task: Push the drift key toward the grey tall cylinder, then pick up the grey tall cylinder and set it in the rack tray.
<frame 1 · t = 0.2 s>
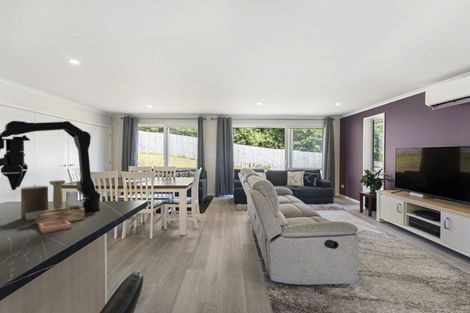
hand: (15, 188, 106), 14 cm above the countertop, fingers open, 9 cm apart
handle: (57, 210, 128), on the countertop
rack tray: (55, 228, 99), on the countertop
pillar candle: (35, 217, 115), on the countertop
socket block: (60, 220, 109), on the countertop
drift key: (36, 215, 103), point 4 cm above the countertop, slide at 0.0 cm
grey tall cylinder: (71, 213, 112), point 2 cm above the countertop, touching socket block
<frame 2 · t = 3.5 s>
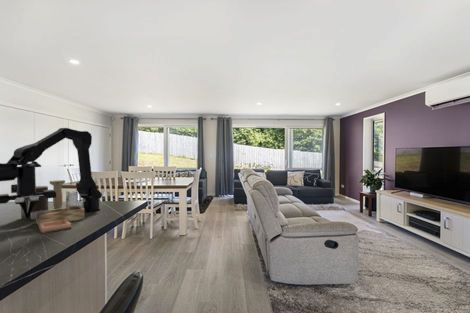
hand: (27, 217, 101), 3 cm above the countertop, fingers closed
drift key: (40, 214, 104), point 4 cm above the countertop, slide at 1.5 cm, touching gripper
everything else where it was.
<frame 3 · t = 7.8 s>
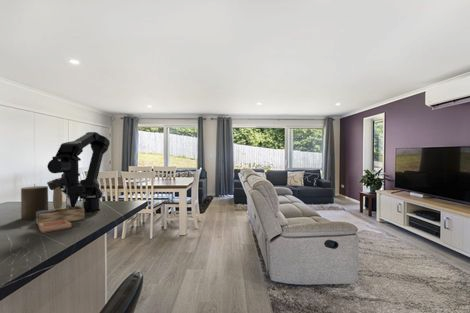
hand: (71, 206, 112), 6 cm above the countertop, fingers closed on grey tall cylinder, 4 cm apart
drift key: (45, 213, 105), point 4 cm above the countertop, slide at 3.2 cm
grey tall cylinder: (71, 213, 112), point 3 cm above the countertop, touching gripper, socket block
everything else where it was.
when the fingers open (5 cm above the countertop, at t = 11.6 s): grey tall cylinder drops 1 cm, resting on rack tray.
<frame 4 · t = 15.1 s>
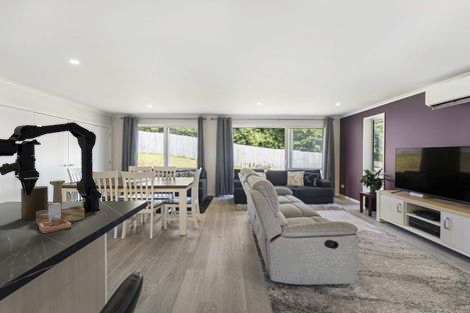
hand: (26, 194, 103), 12 cm above the countertop, fingers open, 9 cm apart
grey tall cylinder: (54, 226, 99), point 1 cm above the countertop, touching rack tray
everything else where it was.
at the end: grey tall cylinder 0.0 cm off-centre on the rack tray, point 0.6 cm above the rack tray's base; grey tall cylinder tilted 0°; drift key slide at 3.2 cm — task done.
